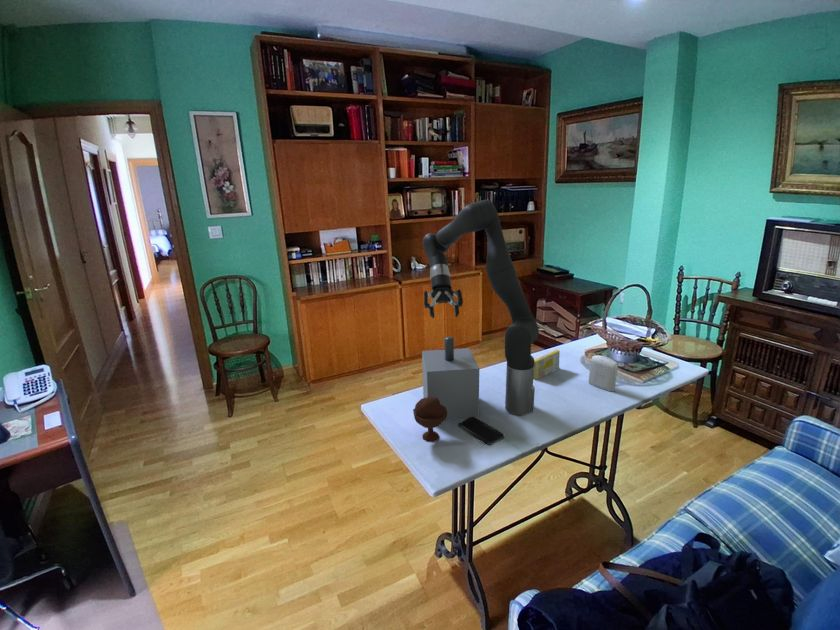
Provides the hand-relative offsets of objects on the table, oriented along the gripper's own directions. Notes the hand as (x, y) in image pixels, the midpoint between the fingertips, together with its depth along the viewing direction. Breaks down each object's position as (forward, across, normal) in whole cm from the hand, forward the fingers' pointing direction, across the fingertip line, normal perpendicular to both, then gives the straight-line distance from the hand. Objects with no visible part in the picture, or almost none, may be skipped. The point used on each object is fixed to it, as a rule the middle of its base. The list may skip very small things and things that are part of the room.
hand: (445, 316), depth 158 cm
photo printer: (+24, +61, +20) cm, 69 cm away
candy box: (+14, +44, +30) cm, 55 cm away
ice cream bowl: (+42, -9, +2) cm, 43 cm away
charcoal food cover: (+29, 0, +15) cm, 33 cm away
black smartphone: (+42, +8, +4) cm, 42 cm away
